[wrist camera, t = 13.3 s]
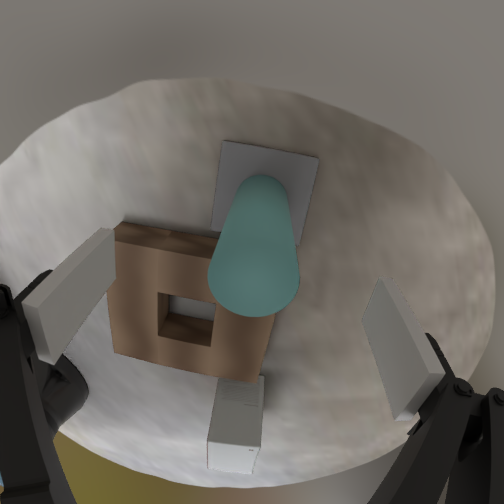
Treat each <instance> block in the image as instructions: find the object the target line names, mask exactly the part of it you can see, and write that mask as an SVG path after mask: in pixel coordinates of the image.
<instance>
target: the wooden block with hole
mask: <svg viewBox="0 0 504 504" xmlns="http://www.w3.org/2000/svg"><path fill="white" fill-rule="evenodd" d="M113 230H114V235H115V267H116V279H115V280H114V282H113V283H112V284H111V286H110V287H109V288H108V290H107V301H108V310H109V318H110V326H111V333H112V340H113V347H114V353H118V354H121V355H125V356H129V357H132V358H136V359H140V360H144V361H147V362H151V363H155V364H159V365H164V366H168V367H172V368H176V369H181V370H185V371H190V372H195V373H200V374H204V375H210V376H215V377H220V378H226V379H231V380H237V381H243V382H249V383H257V380H258V376H259V373H260V369H261V366H262V362H263V359H264V355H265V352H266V348H267V345H268V341H269V337H270V334H271V330H272V326H273V323H274V319H275V315H276V313H274V314H271V315H268V316H263V317H248V316H242V315H239V314H236V313H233V312H231V311H229V310H228V309H226V308H225V307H223V306H222V305H221V304H220V303H219V302H218V301H217V300H216V299H215V297H214V296H213V294H212V292H211V290H210V288H209V284H208V268H209V265H210V262H211V259H212V256H213V254H214V251H215V248H216V245H217V243H218V240H219V239H215V238H210V237H204V236H199V235H193V234H187V233H182V232H176V231H171V230H165V229H159V228H154V227H148V226H142V225H137V224H131V223H125V222H121V223H120V224H119V225H117V226H116V227H115V228H114V229H113ZM169 294H170V295H174V296H179V297H184V298H189V299H194V300H199V301H204V302H209V303H214V304H216V308H215V316H214V322H213V321H208V320H203V319H198V318H193V317H188V316H183V315H179V314H174V313H169Z"/></svg>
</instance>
